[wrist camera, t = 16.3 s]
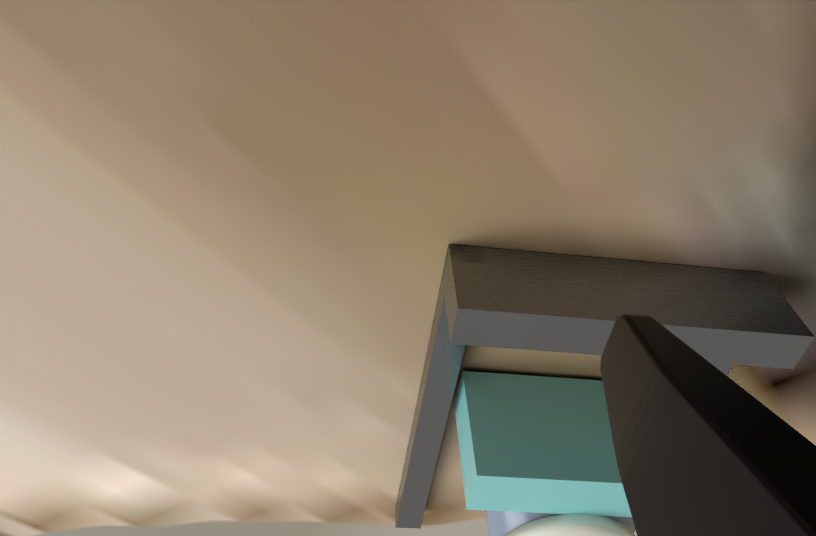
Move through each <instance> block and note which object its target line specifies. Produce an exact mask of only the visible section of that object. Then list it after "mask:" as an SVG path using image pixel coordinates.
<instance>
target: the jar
mask: <svg viewBox="0 0 816 536" xmlns="http://www.w3.org/2000/svg"><path fill="white" fill-rule="evenodd" d="M485 513H486V520H487V528H488V534H489V536H635V535H634V533H633V532H632V531H631V529H630V526H629V523H628V520H627V517H615V516H600V515H594V514H581V513H575V514H552V513H531V512H510V511H489V510H485Z"/></svg>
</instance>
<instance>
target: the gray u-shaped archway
mask: <svg viewBox="0 0 816 536" xmlns="http://www.w3.org/2000/svg"><path fill="white" fill-rule="evenodd" d="M625 313H627V314H642V315H648V316H651V317H652V318H654V319H655V320H656V321H658V322H659V323H660V324H661V325H663V326H664V327H665V328H667V329H668V330H669V331H670V332H672V333H673V334H674V335H675V336H677V337H678V338H679V339H680V340H682V341H683V342H684V343H686V344H687V345H688V346H689V347H691V348H692V349H693V350H694V351H696V352H697V353H698V354H700V355H701V356H702V357H703V358H705V359H706V360H707V361H708V362H710V363H711V364H712V365H714V366H715V367H716V368H717V369H719V370H720V371H721V372H722V373H724V374H725V375H726V376H727V374H728V373H729V371H730V369H731V367H732V366H733V365H744V366H757V367H771V368H784V369H793V368H794V367H795V365H796V364H797V362H798V361H799V359H800V358H801V356H802V355H803V353H804V352H805V350H806V349H807V347H808V346H809V344H810V343H811V341H812V340H813V338H814V335H813V334H812V333H811V331H810V330H809V329H808V328H807V326H806V325H805V324H804V323H803V321H802V320H801V319H800V317H799V316H798V315H797V314H796V312H795V311H794V310H793V308H792V307H791V306H790V305H789V303H788V302H787V301H786V299H785V298H784V297H783V296H782V294H781V293H780V292H779V291H778V289H777V288H776V287H775V285H774V284H773V283H772V282H771V280H770V279H769V278H768V276H767V275H766V274H765V273H763V272H752V271H740V270H729V269H718V268H707V267H696V266H685V265H673V264H662V263H651V262H640V261H629V260H618V259H607V258H595V257H584V256H573V255H562V254H551V253H540V252H529V251H517V250H506V249H495V248H484V247H473V246H462V245H451V244H449V246H448V251H447V256H446V261H445V266H444V271H443V276H442V281H441V286H440V290H439V295H438V300H437V305H436V310H435V315H434V320H433V325H432V330H431V335H430V340H429V345H428V350H427V355H426V360H425V365H424V370H423V375H422V380H421V385H420V389H419V394H418V399H417V404H416V409H415V414H414V419H413V424H412V429H411V434H410V439H409V444H408V449H407V454H406V459H405V464H404V469H403V474H402V479H401V484H400V488H399V493H398V498H397V503H396V508H395V516H396V527H400V528H420V527H421V523H422V519H423V515H424V511H425V507H426V503H427V499H428V495H429V491H430V487H431V483H432V479H433V475H434V471H435V467H436V463H437V459H438V455H439V451H440V447H441V443H442V439H443V435H444V431H445V427H446V422H447V418H448V414H449V410H450V406H451V402H452V398H453V394H454V390H455V386H456V382H457V378H458V374H459V370H460V366H461V362H462V358H463V354H464V350H465V346H466V345H473V346H486V347H500V348H514V349H527V350H541V351H554V352H568V353H581V354H595V355H602V353H603V351H604V348H605V346H606V343H607V341H608V338H609V336H610V334H611V331H612V329H613V326H614V324H615V321H616V320H617V318H618V317H619V316H620V315H622V314H625ZM627 520H628V523H629V526H630V529H631V531H632V532H633V533H634V532H635V530H636V529H635V526H634V522H633V519H632V517H627Z"/></svg>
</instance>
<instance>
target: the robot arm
mask: <svg viewBox="0 0 816 536" xmlns="http://www.w3.org/2000/svg"><path fill="white" fill-rule="evenodd" d="M601 375H602V381H603V387H604V393H605V399H606V405H607V411H608V416H609V422H610V428H611V434H612V440H613V446H614V451H615V456H616V461H617V466H618V470H619V474H620V477H621V481H622V485H623V488H624V492H625V495H626V498H627V502H628V505H629V509H630V512H631V516H632V519H633V522H634V526H635V529H636V533H637V536H816V446H815V445H814V444H813V443H811V442H810V441H809V440H808V439H806V438H805V437H804V436H802V435H801V434H800V433H799V432H797V431H796V430H795V429H794V428H792V427H791V426H790V425H789V424H787V423H786V422H785V421H783V420H782V419H781V418H780V417H778V416H777V415H776V414H775V413H773V412H772V411H771V410H769V409H768V408H767V407H766V406H764V405H763V404H762V403H761V402H759V401H758V400H757V399H755V398H754V397H753V396H752V395H750V394H749V393H748V392H747V391H745V390H744V389H743V388H741V387H740V386H739V385H738V384H736V383H735V382H734V381H733V380H731V379H730V378H729V377H728V376H726V375H725V374H724V373H722V372H721V371H720V370H719V369H717V368H716V367H715V366H714V365H712V364H711V363H710V362H708V361H707V360H706V359H705V358H703V357H702V356H701V355H700V354H698V353H697V352H696V351H694V350H693V349H692V348H691V347H689V346H688V345H687V344H686V343H684V342H683V341H682V340H680V339H679V338H678V337H677V336H675V335H674V334H673V333H672V332H670V331H669V330H668V329H667V328H665V327H664V326H663V325H661V324H660V323H659V322H658V321H656V320H655V319H654V318H652V317H651V316H648V315H642V314H627V313H625V314H622V315H620V316H619V317H618V318H617V320H616V321H615V324H614V326H613V329H612V331H611V334H610V336H609V338H608V341H607V343H606V346H605V348H604V351H603V353H602V357H601Z"/></svg>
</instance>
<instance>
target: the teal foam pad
mask: <svg viewBox="0 0 816 536" xmlns="http://www.w3.org/2000/svg"><path fill="white" fill-rule="evenodd" d="M454 408H455V416H456V425H457V433H458V442H459V451H460V459H461V468H462V476H463V485H464V493H465V502H466V509H468V510H489V511H510V512H531V513H552V514H575V513H581V514H594V515H600V516H615V517H632V516H631V512H630V509H629V505H628V502H627V498H626V495H625V492H624V488H623V485H622V481H621V477H620V474H619V470H618V466H617V461H616V456H615V451H614V446H613V440H612V434H611V428H610V422H609V416H608V411H607V405H606V399H605V393H604V387H603V381H600V380H586V379H571V378H557V377H543V376H528V375H514V374H500V373H485V372H471V371H462V375H461V379H460V383H459V387H458V391H457V395H456V399H455V403H454Z"/></svg>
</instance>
